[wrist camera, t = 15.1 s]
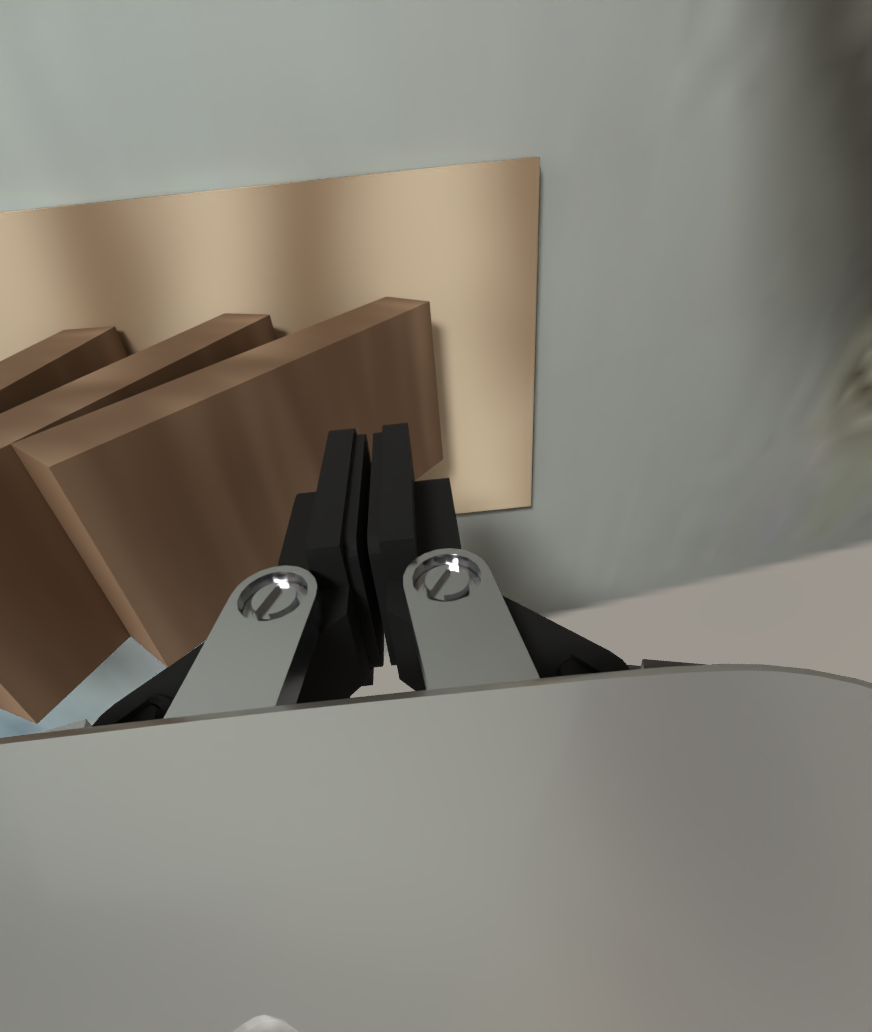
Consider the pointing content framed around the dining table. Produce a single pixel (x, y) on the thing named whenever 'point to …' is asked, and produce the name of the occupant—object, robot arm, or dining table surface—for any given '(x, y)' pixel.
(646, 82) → the dining table surface
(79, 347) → the domino
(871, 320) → the dining table surface
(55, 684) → the domino
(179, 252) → the light wooden board
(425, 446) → the domino
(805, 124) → the dining table surface
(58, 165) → the dining table surface
